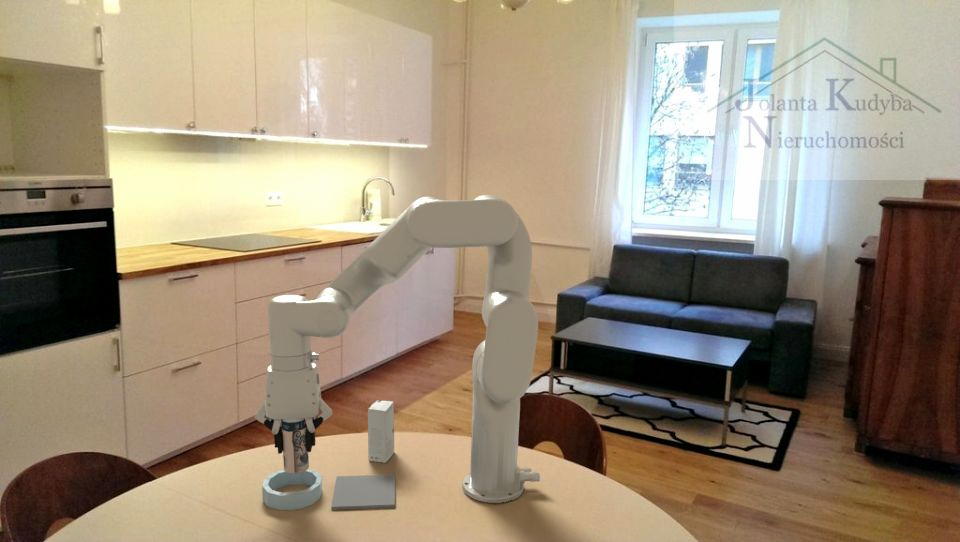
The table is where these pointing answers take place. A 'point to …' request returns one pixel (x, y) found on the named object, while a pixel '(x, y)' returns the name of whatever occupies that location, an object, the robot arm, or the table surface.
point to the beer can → (295, 445)
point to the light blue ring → (292, 499)
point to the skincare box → (381, 431)
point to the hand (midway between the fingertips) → (295, 448)
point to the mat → (364, 492)
